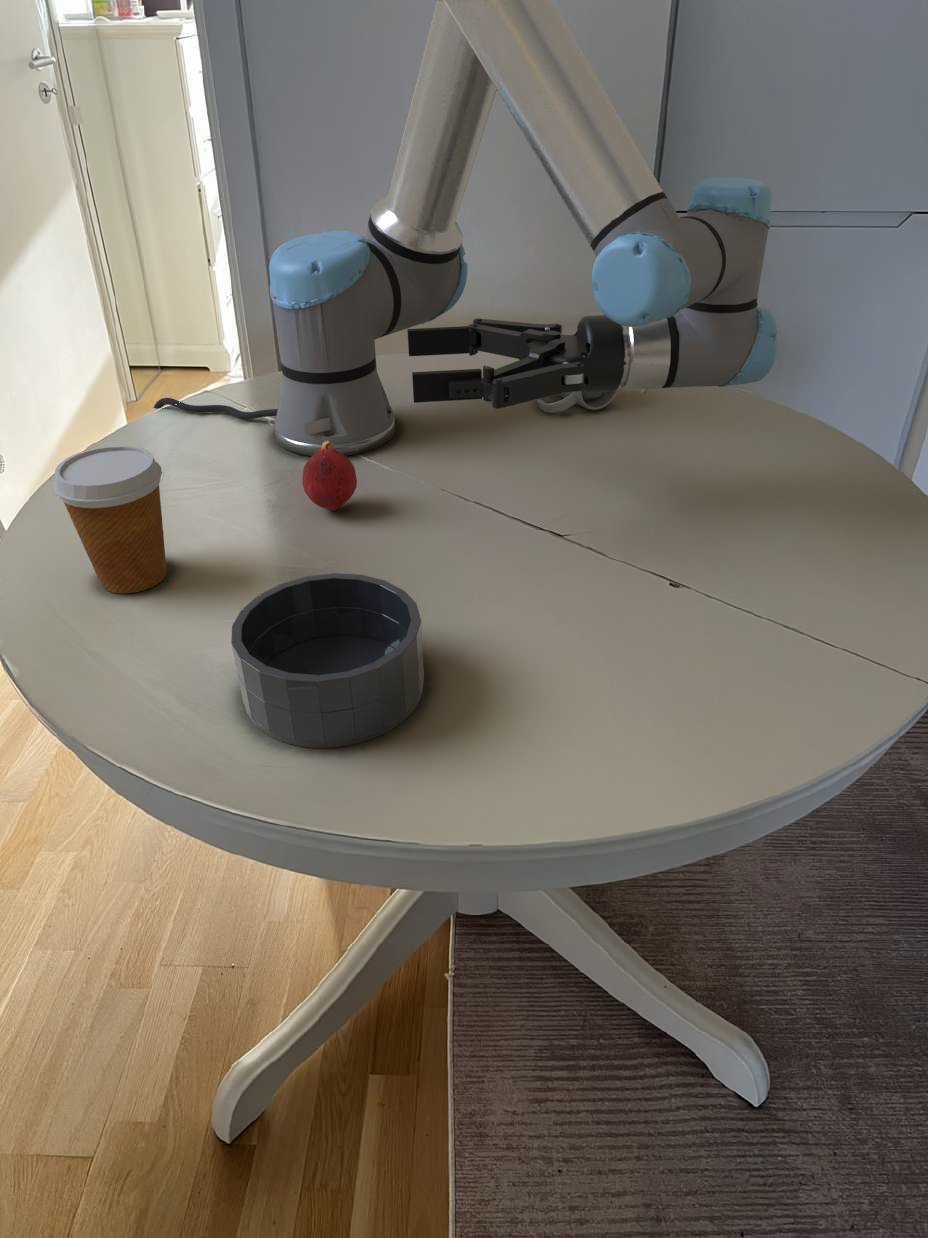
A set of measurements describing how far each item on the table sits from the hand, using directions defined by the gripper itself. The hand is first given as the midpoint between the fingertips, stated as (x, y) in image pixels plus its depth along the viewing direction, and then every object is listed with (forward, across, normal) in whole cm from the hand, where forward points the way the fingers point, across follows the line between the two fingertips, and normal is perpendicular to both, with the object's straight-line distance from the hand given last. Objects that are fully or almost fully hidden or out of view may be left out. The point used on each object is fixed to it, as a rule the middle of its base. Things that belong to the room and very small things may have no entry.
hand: (409, 363), depth 92 cm
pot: (+8, -31, -16) cm, 36 cm away
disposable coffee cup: (+28, -12, -16) cm, 35 cm away
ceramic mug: (-22, +28, -16) cm, 39 cm away
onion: (+9, 0, -16) cm, 19 cm away
